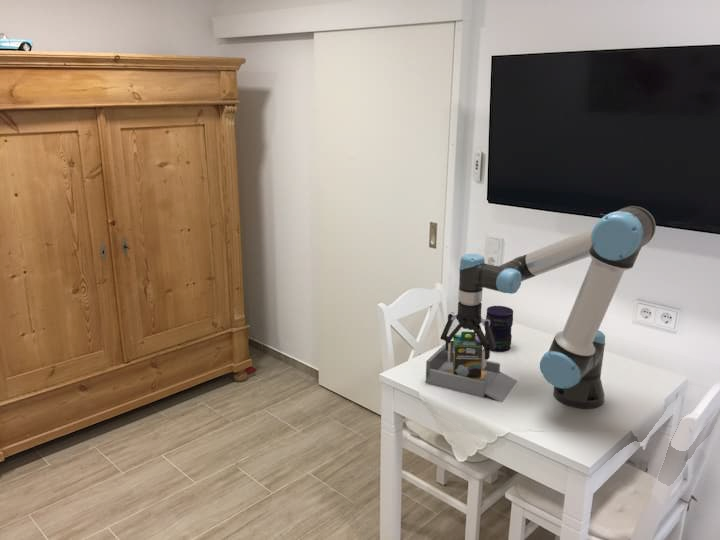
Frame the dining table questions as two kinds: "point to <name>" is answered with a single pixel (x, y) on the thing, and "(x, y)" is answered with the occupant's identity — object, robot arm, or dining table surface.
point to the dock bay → (488, 384)
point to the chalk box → (467, 355)
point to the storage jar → (500, 326)
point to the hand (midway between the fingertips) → (466, 363)
